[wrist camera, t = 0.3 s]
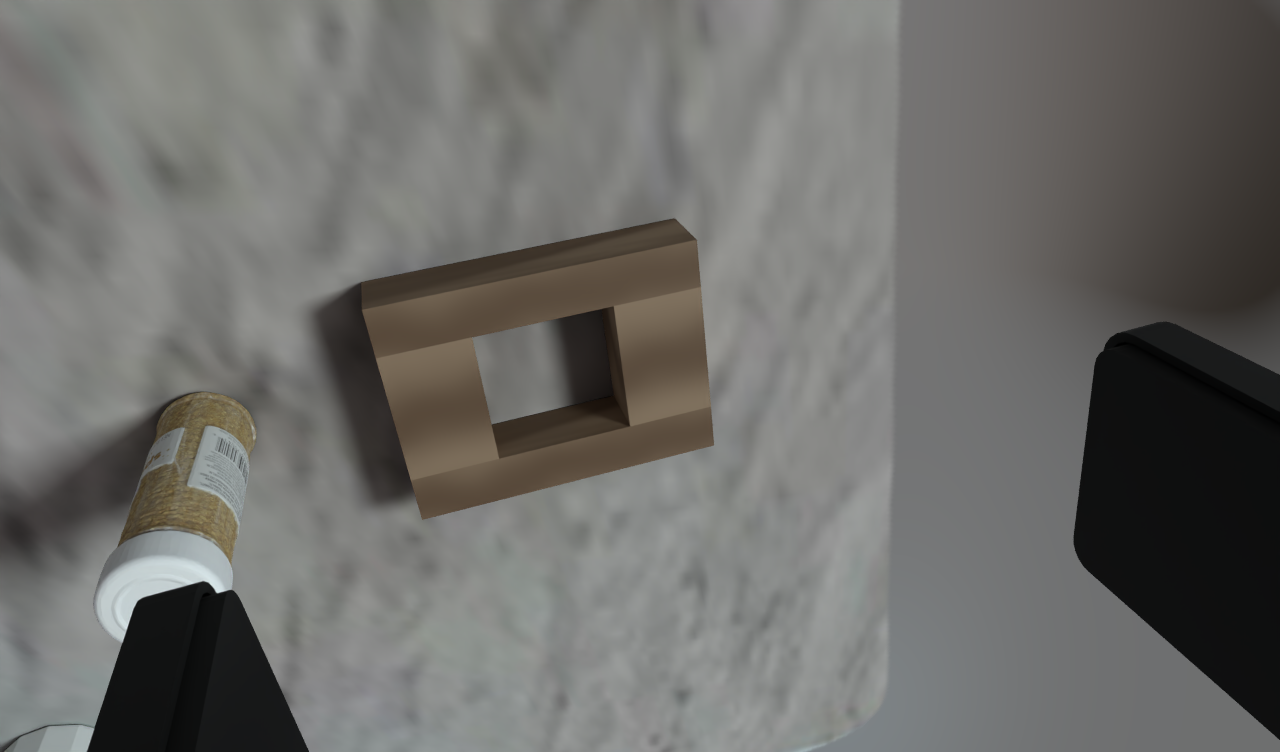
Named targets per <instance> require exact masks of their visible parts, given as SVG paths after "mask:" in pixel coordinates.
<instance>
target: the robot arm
mask: <svg viewBox="0 0 1280 752" xmlns="http://www.w3.org/2000/svg"><path fill="white" fill-rule="evenodd" d="M1074 547H1075V551H1076V554H1077V556H1078V558H1079V560H1080V562H1081V563H1082V565H1083V566H1084V567H1085V568H1086V569H1087V570H1088V572H1090V573H1091V574H1092V575H1093V576H1094V577H1095V578H1096V579H1098V580H1099V581H1100V582H1101V583H1102V584H1103V585H1105V587H1107V588H1108V589H1109V590H1110V591H1111V592H1113V594H1115V595H1116V596H1117V597H1118V598H1119V599H1120V600H1121V601H1123V602H1124V603H1125V604H1126V605H1127V606H1128V607H1129V608H1130V609H1132V610H1133V611H1134V612H1135V613H1136V614H1137V615H1138V616H1140V617H1141V618H1142V619H1143V620H1144V621H1145V622H1146V623H1148V624H1149V625H1150V626H1151V627H1152V628H1153V629H1154V630H1155V631H1157V632H1158V633H1159V634H1160V635H1161V636H1162V637H1163V638H1165V639H1166V640H1167V641H1168V642H1169V643H1170V644H1171V645H1172V646H1174V647H1175V648H1176V649H1177V650H1178V651H1179V652H1181V653H1182V654H1183V655H1184V656H1185V657H1186V658H1187V659H1188V660H1190V661H1191V662H1192V663H1193V664H1194V665H1195V666H1196V667H1198V668H1199V669H1200V670H1201V671H1202V672H1203V673H1204V674H1206V675H1207V676H1208V677H1209V678H1210V679H1211V680H1212V681H1213V682H1214V683H1216V684H1217V685H1218V686H1219V687H1220V688H1221V689H1222V690H1224V691H1225V692H1226V693H1227V694H1228V695H1229V696H1230V697H1232V698H1233V699H1234V700H1235V701H1236V702H1237V703H1239V705H1241V706H1242V707H1243V708H1244V709H1245V710H1247V711H1248V712H1249V713H1250V714H1251V715H1252V716H1253V717H1254V718H1256V719H1257V720H1258V721H1259V722H1260V723H1261V724H1262V725H1263V726H1264V727H1266V728H1267V729H1268V730H1269V731H1270V732H1271V733H1272V734H1274V735H1275V736H1276V737H1277V738H1278V739H1279V740H1280V375H1279V374H1277V373H1275V372H1273V371H1271V370H1269V369H1267V368H1265V367H1262V366H1260V365H1258V364H1256V363H1254V362H1252V361H1250V360H1248V359H1246V358H1244V357H1242V356H1240V355H1238V354H1236V353H1234V352H1232V351H1230V350H1227V349H1225V348H1223V347H1221V346H1219V345H1217V344H1215V343H1213V342H1211V341H1209V340H1207V339H1205V338H1203V337H1201V336H1199V335H1196V334H1194V333H1192V332H1190V331H1188V330H1186V329H1184V328H1182V327H1180V326H1178V325H1176V324H1173V323H1169V322H1157V323H1154V324H1150V325H1146V326H1143V327H1139V328H1135V329H1131V330H1128V331H1124V332H1121V333H1117V334H1115V335H1114V336H1112V337H1111V338H1110V339H1109V340H1108V342H1107V343H1106V344H1105V347H1104V351H1103V352H1101V353H1100V354H1099V355H1098V357H1097V358H1096V362H1095V366H1094V375H1093V383H1092V391H1091V399H1090V407H1089V416H1088V423H1087V432H1086V440H1085V448H1084V456H1083V464H1082V472H1081V480H1080V488H1079V497H1078V505H1077V513H1076V521H1075V529H1074ZM87 752H309V750H308V748H307V746H306V744H305V742H304V739H303V737H302V735H301V733H300V731H299V728H298V726H297V724H296V722H295V720H294V717H293V715H292V713H291V711H290V709H289V706H288V704H287V702H286V700H285V697H284V695H283V693H282V691H281V689H280V686H279V684H278V682H277V680H276V678H275V675H274V673H273V671H272V669H271V667H270V664H269V662H268V660H267V658H266V656H265V653H264V651H263V649H262V647H261V644H260V642H259V640H258V638H257V636H256V633H255V631H254V629H253V627H252V625H251V622H250V620H249V618H248V616H247V614H246V611H245V609H244V607H243V605H242V603H241V601H240V599H239V597H238V595H237V594H236V593H235V592H234V591H233V590H227V591H224V592H220V593H216V591H215V589H214V588H213V587H212V586H211V585H210V584H209V583H208V582H205V581H201V582H198V583H194V584H190V585H187V586H183V587H179V588H176V589H172V590H168V591H164V592H161V593H157V594H153V595H150V596H146V597H143V598H141V599H140V600H138V601H137V603H136V605H135V607H134V609H133V612H132V615H131V618H130V621H129V624H128V627H127V630H126V634H125V637H124V640H123V643H122V646H121V649H120V652H119V655H118V658H117V661H116V664H115V667H114V670H113V673H112V676H111V679H110V682H109V685H108V688H107V692H106V695H105V698H104V701H103V704H102V707H101V710H100V713H99V716H98V719H97V722H96V725H95V728H94V731H93V734H92V737H91V740H90V743H89V747H88V750H87Z"/></svg>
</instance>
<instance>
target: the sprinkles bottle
mask: <svg viewBox="0 0 1280 752" xmlns="http://www.w3.org/2000/svg"><path fill="white" fill-rule="evenodd" d="M255 442H256V427H255V424H254V421H253V419H252V417H251V416H250V413H249V412H248V411H247V410H246V409H245V408H244V407H243V406H242V405H241V404H240V403H239V402H237V401H236V400H233V399H231V398H230V397H227V396H224V395H220V394H215V393H209V392H199V393H193V394H189V395H186V396H184V397H182V398H180V399H178V400H176V401H175V402H173V403H172V404H170V405H169V406H168V407H167V408H166V410H165V411H164V412H163V413H162V415H161V417H160V419H159V421H158V424H157V435H156V438H155V441H154V443H153V446H152V448H151V449H150V451H149V454H148V456H147V459H146V462H145V465H144V469H143V472H142V475H141V478H140V480H139V483H138V486H137V489H136V492H135V495H134V497H133V500H132V503H131V506H130V509H129V512H128V517H127V522H126V525H125V527H124V530H123V532H122V534H121V539H120V541H119V544H118V547H117V548H116V549H115V550H114V551H113V552H112V554H111V555H110V556H109V558H108V559H107V561H106V563H105V565H104V567H103V570H102V573H101V575H100V578H99V581H98V584H97V587H96V591H95V595H94V603H93V606H94V612H95V615H96V618H97V620H98V622H99V624H100V625H101V627H102V628H103V629H104V630H105V631H106V632H107V633H108V634H109V635H110V636H111V637H113V638H114V639H116V640H117V641H119V642H121V643H123V640H124V637H125V634H126V630H127V627H128V624H129V621H130V618H131V615H132V612H133V609H134V607H135V605H136V603H137V601H138V600H140V599H141V598H143V597H146V596H150V595H153V594H157V593H161V592H164V591H168V590H172V589H176V588H179V587H183V586H187V585H190V584H194V583H198V582H201V581H205V582H208V583H209V584H210V585H211V586H212V587H213V588H214V589H215V591H216V593H220V592H224V591H227V590H231V589H232V582H233V573H232V566H231V561H232V556H233V550H234V546H235V543H236V540H237V537H238V533H239V527H240V521H241V516H242V510H243V504H244V498H245V492H246V486H247V480H248V474H249V459H250V453H251V451H252V450H253V447H254V445H255Z"/></svg>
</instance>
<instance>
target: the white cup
mask: <svg viewBox="0 0 1280 752" xmlns="http://www.w3.org/2000/svg"><path fill="white" fill-rule="evenodd" d="M93 731H94V728H92V727H88V726H84V725H59V726H48V727H45V728H42V729H39V730H37V731H34V732H31V733H28V734H26V735H23V736H21V737H19V738H18V739H17V740H16V741H15V742H14V743H13V744H12V745H11V746H9V747H8V748H7V749H6V750H5V751H4V752H87V750H88V747H89V743H90V740H91V737H92V734H93Z"/></svg>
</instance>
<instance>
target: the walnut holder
mask: <svg viewBox="0 0 1280 752" xmlns="http://www.w3.org/2000/svg"><path fill="white" fill-rule="evenodd" d="M361 294H362V312H363V316H364V319H365V323H366V326H367V330H368V333H369V336H370V340H371V343H372V347H373V350H374V354H375V357H376V361H377V364H378V368H379V371H380V375H381V378H382V382H383V385H384V389H385V392H386V396H387V399H388V402H389V406H390V409H391V413H392V416H393V420H394V423H395V427H396V430H397V434H398V437H399V441H400V444H401V448H402V451H403V455H404V458H405V462H406V465H407V469H408V472H409V475H410V479H411V482H412V486H413V489H414V493H415V496H416V500H417V503H418V507H419V510H420V514H421V517H422V520H423V519H427V518H431V517H435V516H439V515H443V514H447V513H451V512H455V511H459V510H463V509H466V508H470V507H474V506H478V505H482V504H486V503H490V502H494V501H498V500H502V499H506V498H510V497H513V496H517V495H521V494H525V493H529V492H533V491H537V490H541V489H545V488H549V487H553V486H557V485H560V484H564V483H568V482H572V481H576V480H580V479H584V478H588V477H592V476H596V475H600V474H604V473H607V472H611V471H615V470H619V469H623V468H627V467H631V466H635V465H639V464H643V463H647V462H651V461H655V460H658V459H662V458H666V457H670V456H674V455H678V454H682V453H686V452H690V451H694V450H698V449H702V448H705V447H709V446H713V445H714V439H713V427H712V415H711V403H710V391H709V379H708V367H707V356H706V344H705V332H704V320H703V308H702V296H701V284H700V272H699V260H698V248H697V240H696V239H695V238H694V237H693V236H692V235H691V234H690V233H689V232H688V231H687V230H686V229H685V228H684V227H683V226H682V225H681V224H680V223H679V222H678V221H677V220H676V219H675V218H674V219H670V220H665V221H660V222H655V223H650V224H645V225H640V226H635V227H630V228H625V229H620V230H615V231H611V232H606V233H601V234H596V235H591V236H586V237H581V238H576V239H571V240H566V241H561V242H557V243H552V244H547V245H542V246H537V247H532V248H527V249H522V250H517V251H512V252H507V253H503V254H498V255H493V256H488V257H483V258H478V259H473V260H468V261H463V262H458V263H453V264H448V265H444V266H439V267H434V268H429V269H424V270H419V271H414V272H409V273H404V274H399V275H394V276H390V277H385V278H380V279H375V280H370V281H365V282H361ZM599 309H601V310H602V317H603V324H604V331H605V338H606V345H607V352H608V359H609V366H610V372H611V379H612V386H613V393H614V396H610V397H606V398H602V399H598V400H593V401H589V402H585V403H581V404H577V405H572V406H568V407H564V408H560V409H556V410H552V411H547V412H543V413H539V414H535V415H531V416H526V417H522V418H518V419H514V420H510V421H506V422H501V423H497V424H493V425H491V420H490V416H489V411H488V407H487V402H486V398H485V394H484V389H483V385H482V380H481V376H480V371H479V367H478V363H477V358H476V354H475V349H474V345H473V340H472V337H476V336H480V335H485V334H489V333H494V332H499V331H503V330H508V329H512V328H517V327H521V326H526V325H530V324H535V323H539V322H544V321H549V320H553V319H558V318H562V317H567V316H571V315H576V314H580V313H585V312H589V311H594V310H599Z"/></svg>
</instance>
